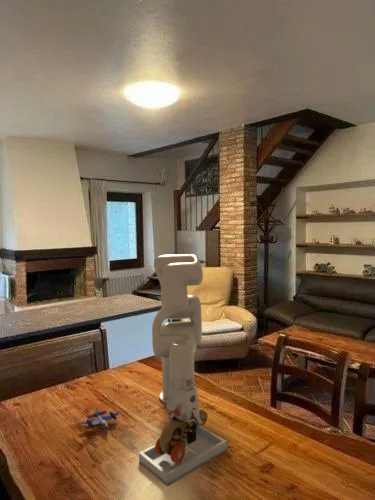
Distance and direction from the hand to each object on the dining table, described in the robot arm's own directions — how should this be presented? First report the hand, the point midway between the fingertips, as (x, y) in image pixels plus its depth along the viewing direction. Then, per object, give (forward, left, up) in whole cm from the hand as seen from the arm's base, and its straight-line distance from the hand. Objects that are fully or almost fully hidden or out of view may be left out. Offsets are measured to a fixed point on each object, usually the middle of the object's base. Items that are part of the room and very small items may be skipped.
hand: (183, 436), depth 117 cm
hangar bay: (0, 0, -6) cm, 6 cm away
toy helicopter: (0, 0, -4) cm, 4 cm away
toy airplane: (+11, -32, -7) cm, 34 cm away
